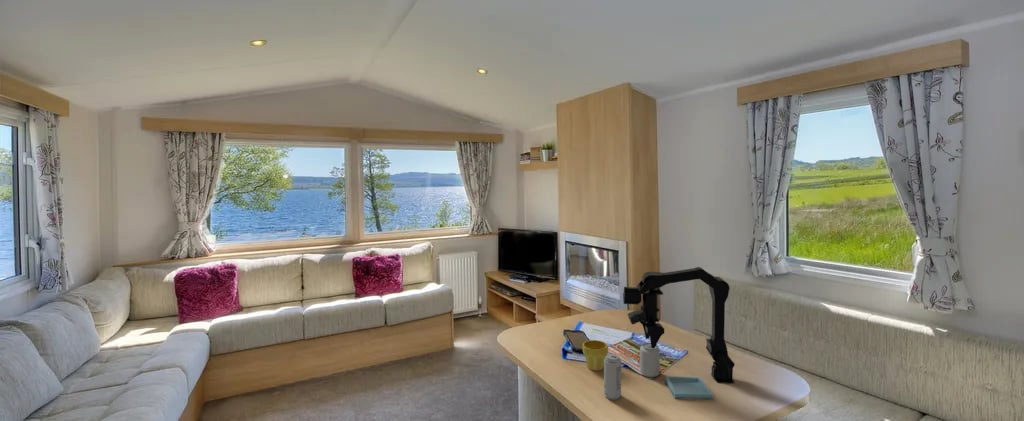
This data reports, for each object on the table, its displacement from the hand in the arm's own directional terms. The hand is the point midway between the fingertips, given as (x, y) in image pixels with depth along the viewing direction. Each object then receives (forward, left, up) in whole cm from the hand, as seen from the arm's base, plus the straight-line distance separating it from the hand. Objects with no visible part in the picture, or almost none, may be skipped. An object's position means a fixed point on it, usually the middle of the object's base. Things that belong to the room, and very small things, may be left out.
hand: (650, 343), depth 169 cm
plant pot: (+21, -6, -13) cm, 25 cm away
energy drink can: (+17, +17, -13) cm, 28 cm away
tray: (-11, +11, -13) cm, 21 cm away
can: (0, -1, -13) cm, 13 cm away
